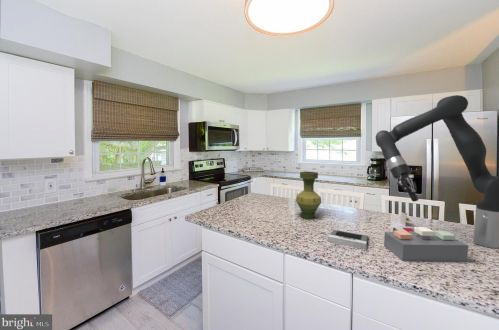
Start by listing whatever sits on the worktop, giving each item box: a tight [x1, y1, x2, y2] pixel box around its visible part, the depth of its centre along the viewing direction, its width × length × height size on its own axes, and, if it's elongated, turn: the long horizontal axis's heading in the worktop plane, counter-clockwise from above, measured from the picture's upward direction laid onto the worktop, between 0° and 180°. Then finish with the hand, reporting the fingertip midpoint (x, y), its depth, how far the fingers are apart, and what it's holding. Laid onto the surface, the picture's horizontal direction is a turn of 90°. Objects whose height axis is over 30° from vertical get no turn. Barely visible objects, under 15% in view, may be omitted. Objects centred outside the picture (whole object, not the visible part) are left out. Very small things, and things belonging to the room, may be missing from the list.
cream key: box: [414, 226, 435, 240], centre depth 101 cm, size 5×5×6 cm
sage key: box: [434, 230, 456, 240], centre depth 101 cm, size 5×5×6 cm
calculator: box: [392, 227, 414, 232], centre depth 118 cm, size 11×4×15 cm
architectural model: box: [400, 211, 414, 227], centre depth 136 cm, size 3×7×7 cm, turn 169°
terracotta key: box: [394, 230, 412, 240], centre depth 101 cm, size 5×5×6 cm
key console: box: [383, 231, 469, 263], centre depth 101 cm, size 26×14×7 cm, turn 88°
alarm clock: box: [327, 228, 369, 250], centre depth 117 cm, size 17×5×16 cm
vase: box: [295, 171, 322, 221], centre depth 151 cm, size 16×16×30 cm
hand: (415, 200), depth 103 cm, fingers closed
